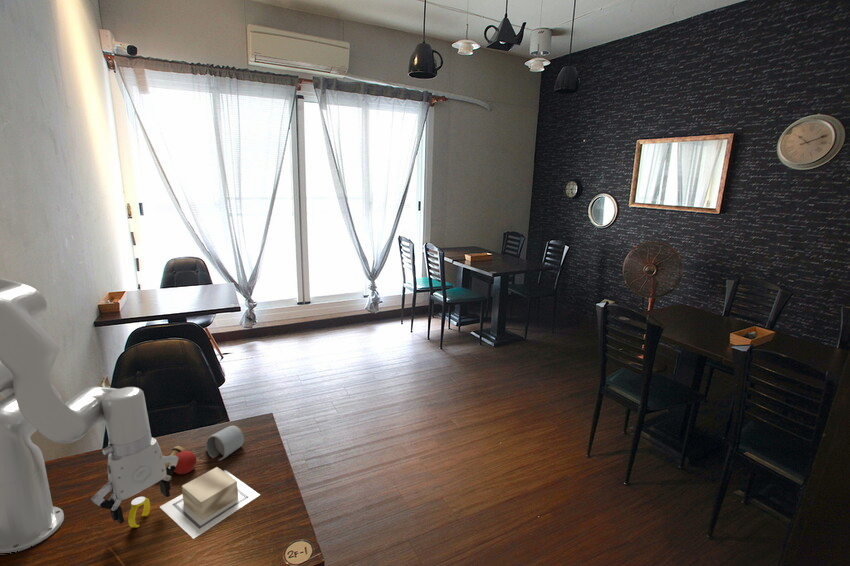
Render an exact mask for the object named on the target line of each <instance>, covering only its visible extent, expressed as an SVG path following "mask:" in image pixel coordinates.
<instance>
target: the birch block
mask: <svg viewBox="0 0 850 566" xmlns="http://www.w3.org/2000/svg"><path fill="white" fill-rule="evenodd" d="M181 492H182V494H183V503H184V504H185V505H186V506H187V507H188V508H189V509H190V510H192V511H193V512H194V513H195V514H196V515H197V516H199V517H200V518H201V519H202V520H204V519H206V518H207V517H209V516H211V515H212V514H214V513H215V512H217V511H218V510H220V509H222V508H223V507H225V506H226V505H228V504H229V503H231V502H233V501H234V500H236V499H237V498H238V489H237V481H236V480H235V479H233V478H232V477H231V476H229V475H228V474H226V473H225V472H224V470H222V469H221V468H219V467H218V466H216V467H214V468H212V469H211V470H208V471H206V472H205V473H202V474H201V475H199V476H198V477H196V478H194V479H192V480H190V481H188V482H187V483H184V484H183V485H181Z"/></svg>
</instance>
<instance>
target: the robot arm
mask: <svg viewBox="0 0 850 566" xmlns="http://www.w3.org/2000/svg"><path fill="white" fill-rule="evenodd" d="M47 307H48V304H47V299H46V297H45V296H44V295H43V294H42V293H41V292H40V291H39V290H38V289H36V288H35V287H33V286H31V285H29V284H25V283H24V282H23V283H22V282H18V281H14V280H10V279H6V278H3V277H2V278H1V277H0V395H1V396H2V397H3V398H2V399H0V553H10V554H12V553H11V552H15V553H18V552H21V551H24V550H27V549H29V548H31V546H32V547H33V546H36V545H37V544H40V543H42V542H43V541H45V540H46V539H48V538H49V537H50V536H51V535H53V534H54V533H55V532H56V531H58V529H59V528H60V527H61V525H62V524H63V522H64V520H65V514H64V511H63V509H61V508H60V507H58V506H53V501H52V495H51V490H50V485H49V479H48V475H47V469H46V464H45V459H44V455H43V452H42V450H41V448H40V447H39V446H38V445H36V444H35V443H34V442H33V441H32V439H31V437H32V435H33V434H34V433H35V432H39V433H40V435H42V436H43V437H45V438H46V439H48V440H50V441H52V442H54V443H58V444H70V443H71V444H72V443H74V442H77V441H79V440H81V439H82V438H83V437H85V436H86V435H87V434H88V433H89V432H90V431H91V430H93V428H94V427H96V426H97V425H98V424H99V423H102V421H105V422H104V423H105V427H106V432H107V437H108V441H107V442H108V443H107V444H108V445H107V446H106V447H105V448H103V449H102V454H103V455H104V456H106V455H107V456H108V457H107V478H108V479H107V480H108V481H107V483H105V484H104V485H103V486H102V487H101V488H100V489H99V490H98V491H97V492H96V493H95V494H94V495H93V496H91V501H92V502H93V503H94V504H95V505H97V506H99V507H100V508H101V509H108V510H110V515H111V519H112V520H113V521H114V522H115V521H117V522H118V523H119V524H120V525H122V524H123V523H124V522H125V520H124V519H125V518H124V513H123V509H122V506H120V505H121V503H122V501H125V500H127V499H129V498H132V497H133V496H135V495H137V494H138V493H141V492H142V491H145V489H148V488H150V487H151V486H154V485H155V484H157V483H159V489H160V493H161V494H162V495H163V496H165V497H166V498H169V497H170V496H171V494H170V491H171V490H172V487H171V482H170V481H171V480H172V475H173V474H174V473H175V472H174V471H175V469H176V465H177V462H178V459H179V458H178V457H177V456H175V455H174V456H169V455H163V453H162V450H161V446H160V444H159V442H158V441H157V439H156V438H154V437H152V433H151V427H150V421H149V415H148V410H147V405H146V404H147V403H146V397H145V394H144V390H142V389H141V388H139V387H136V386H126V387H125V386H124V387H122V388H114V387H106V386H105V387H104V386H89V387H87V388H85V389H83V390H80V391H79V392H78V393H77V394H76V395H73V397H71V398H70V399H68V400H67V401H66V402H64V401H63V400H62V397H61V394H60V393H59V391H58V390H57V388H56V387H55V385H53V381H52V373H53V367H54V366H55V363H56V361H57V357H58V356H59V354H60V353H59V352H60V346H59V344H58V342H56V341H55V340H54V339H53V338H52V337H51V335H50V334H49V333H48V332H47V331H46V330H45V329H44V328H43V327H42V326H41V325H40V324H39V323H38V322H37V321H36V320H37V319H39V318H40V317H42V316H43V315H44V314H45V312H46V311H47ZM162 455H163V456H162ZM165 463H169V465H168V467H167V468H166V466H165ZM109 492H111V495H110V497H108V499H105V498H104V497H105V496H106V495H108V493H109ZM17 551H18V552H17Z"/></svg>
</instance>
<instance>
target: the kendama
mask: <svg viewBox="0 0 850 566" xmlns="http://www.w3.org/2000/svg"><path fill="white" fill-rule="evenodd" d="M174 455H175V456H177V457H178V458H179V459H178V462H177V465H176V469H175V471H174V472H173V473H175V474H177V475H185V474H188V473H190V472H191V471H193V470H194V468H195V467H196V463H197V456H196V454H195V453H193V451H190V450H186V449H185V448H184V447H182V446H181V445H180V446H179V445H176V446H174V447H172V449H171V454H169V455H168V456H174ZM162 456H164V455H163V454H162ZM168 465H169V463H165V466H166V468H167V467H168Z"/></svg>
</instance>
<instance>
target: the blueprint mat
mask: <svg viewBox="0 0 850 566" xmlns="http://www.w3.org/2000/svg"><path fill="white" fill-rule="evenodd" d="M223 471H224V472H225V473H226V474H228V475H229V476H231V477H232V478H233V479H235V480H236V481H237V489H238V498H237V499H236V500H234V501H233V502H231V503H229V504H228V505H226V506H225V507H223V508H222V509H220V510H218V511H217V512H215V513H214V514H212V515H211V516H209V517H207V518H206V519H204V520H202V519H201V518H200V517H199V516H197V515H196V514H195V513H194V512H193V511H192V510H190V509H189V508H188V507H187V506H186V505H185V504H184V503H183V494H180V495H178V496H177V497H174V498H173V499H171V500H169V501H167V502H166V503H164V504H161V505H160V506H159V508H160V509H161V510H162V512H164V513H165V514H166V515H167V516H168V517H170V518H171V519H172V520H173V521H174V522H175V523H176V525H178V527H180V528H181V529H182V530H183V531H184V532H185V533H187V535H189V537H191V538H192V539H193V540H195V539H196V538H198V537H199V536H200V535H202V534H203V533H205V532H206V531H208V530H210V529H211V528H213V527H214V526H215V525H217V524H219V523H221V522H222V521H223V520H225V519H226V518H228V517H229V516H232V514H234V513H236V512H237V511H238V510H240V509H241V508H243V507H244V506H246V505H248V504H249V503H250V502H252V501H253V500H255V499H257V498H258V497H259V496H261V494H260V493H259V492H257V491H256V490H254V489H253V488H251V487H250V486H249V485H247V484H246V483H245V482H243V481H242V480H240V478H238V477H236V476H235V475H233V474H232V473H230V472H229V471H228V470H226V469H224V470H223Z"/></svg>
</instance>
